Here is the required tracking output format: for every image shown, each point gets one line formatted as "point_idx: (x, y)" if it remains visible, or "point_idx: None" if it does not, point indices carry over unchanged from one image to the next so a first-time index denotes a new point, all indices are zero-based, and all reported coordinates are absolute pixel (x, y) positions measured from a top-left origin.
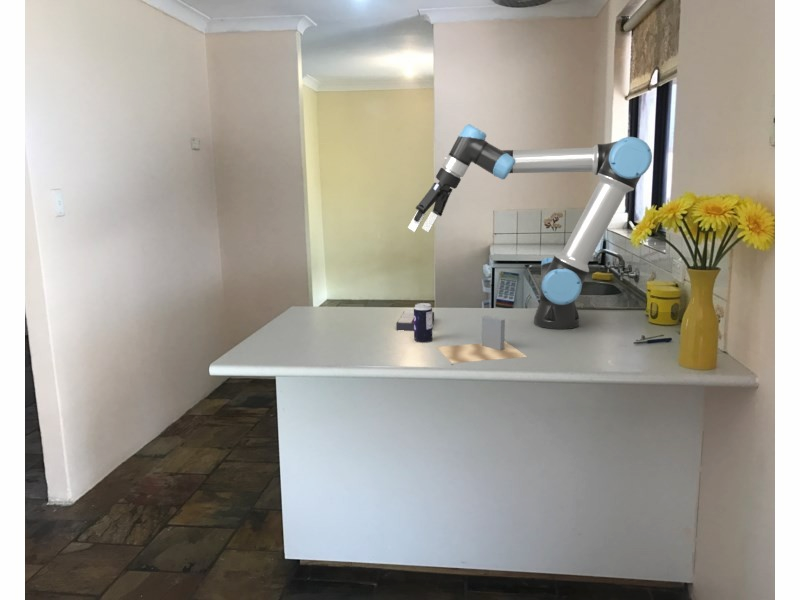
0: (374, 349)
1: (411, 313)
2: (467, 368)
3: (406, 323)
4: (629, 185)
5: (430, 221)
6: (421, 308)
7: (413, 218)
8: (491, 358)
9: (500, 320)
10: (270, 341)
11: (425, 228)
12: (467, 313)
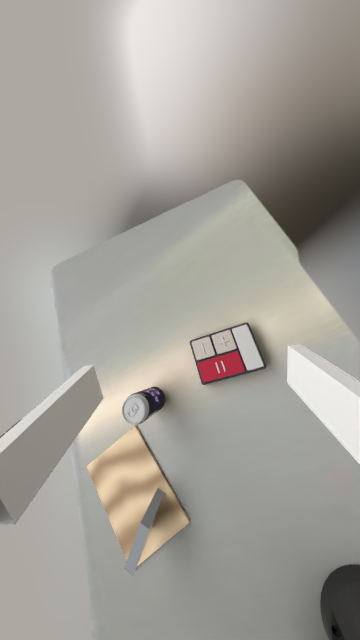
0: (114, 358)
1: (233, 341)
2: (82, 487)
3: (193, 354)
4: None
5: (330, 408)
6: (123, 411)
7: (43, 405)
8: (112, 514)
9: (124, 567)
10: (110, 255)
11: (292, 368)
12: None
